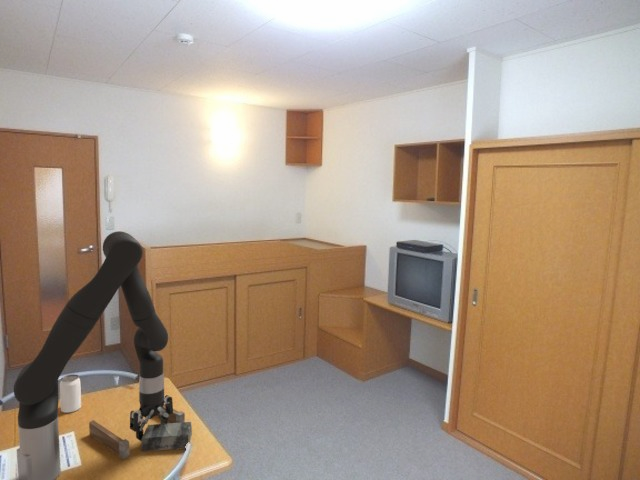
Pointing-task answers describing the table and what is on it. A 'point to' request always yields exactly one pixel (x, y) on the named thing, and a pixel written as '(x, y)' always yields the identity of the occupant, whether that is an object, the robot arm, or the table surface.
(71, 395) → the can
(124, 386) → the table surface
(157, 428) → the stone block
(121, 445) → the pair of wooden rails
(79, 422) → the table surface
